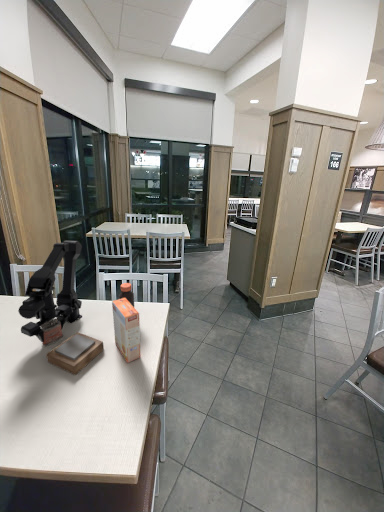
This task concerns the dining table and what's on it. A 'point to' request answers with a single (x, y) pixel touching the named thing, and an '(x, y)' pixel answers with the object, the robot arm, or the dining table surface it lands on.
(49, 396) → the dining table surface
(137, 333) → the cracker box
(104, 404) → the dining table surface
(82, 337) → the walnut base
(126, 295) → the bottle
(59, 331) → the lighter
